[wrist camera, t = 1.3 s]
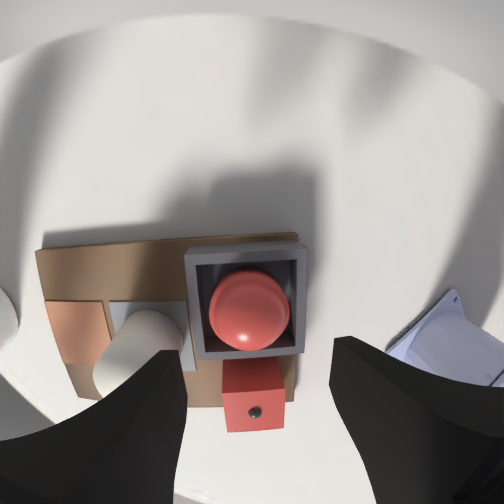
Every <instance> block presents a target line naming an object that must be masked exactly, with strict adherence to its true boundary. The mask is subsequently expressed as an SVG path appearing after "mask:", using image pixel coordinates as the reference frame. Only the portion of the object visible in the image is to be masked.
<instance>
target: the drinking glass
mask: <svg viewBox="0 0 504 504" xmlns="http://www.w3.org/2000/svg"><path fill="white" fill-rule="evenodd" d="M17 334H18V319H17V315H16V311H15V309H14V306H13V304H12V302H11V301H10V299H9V297H8V296H7V295H6V293H5V292H4V291H3V290H2V289H1V288H0V353H1V352H2V351H3V350H4V349H5V348H6V347H8V346H9V345H10V344H11V343H12V342H13V341H14V340H15V339H16V337H17Z"/></svg>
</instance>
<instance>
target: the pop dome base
mask: <svg viewBox="0 0 504 504" xmlns="http://www.w3.org/2000/svg"><path fill="white" fill-rule="evenodd" d="M184 261H185V271H186V281H187V290H188V298H189V306H190V314H191V322H192V329H193V336H194V343H195V349H196V356H197V360H224V359H243V358H257V357H269V356H280V355H290V354H299V353H304V348H305V326H306V294H307V248H306V247H305V246H303V245H302V244H301V243H299V242H298V241H297V240H281V241H261V242H242V243H224V244H206V245H191V246H190V247H189V249H188V250H187V251H186V253H185V254H184ZM241 267H255V268H259V269H262V270H264V271H266V272H268V273H269V274H271V275H272V276H273V277H274V278H275V279H276V280H277V281H278V283H279V285H280V287H281V288H282V290H283V292H284V294H285V296H286V298H287V301H288V304H289V312H290V313H289V320H288V323H287V326H286V328H285V330H284V331H283V333H282V334H281V335H280V336H279V337H278V338H277V339H276V340H275V341H274V342H273V343H272V344H271V345H269V346H267V347H265V348H263V349H260V350H256V351H243V350H239V349H236V348H234V347H232V346H230V345H228V344H227V343H225V342H224V341H222V340H221V339H220V338H219V337H218V336H217V335H216V333H215V332H214V330H213V328H212V326H211V323H210V319H209V309H210V303H211V297H212V292H213V289H214V287H215V285H216V283H217V282H218V281H219V280H220V278H221V277H223V276H224V275H225V274H226V273H228V272H230V271H232V270H234V269H237V268H241Z"/></svg>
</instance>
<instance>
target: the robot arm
mask: <svg viewBox="0 0 504 504" xmlns="http://www.w3.org/2000/svg"><path fill="white" fill-rule="evenodd" d="M329 387H330V390H331V393H332V396H333V399H334V402H335V405H336V408H337V410H338V412H339V414H340V416H341V418H342V420H343V422H344V424H345V426H346V428H347V430H348V432H349V434H350V436H351V438H352V440H353V442H354V444H355V446H356V448H357V450H358V451H359V453H360V456H361V458H362V460H363V463H364V465H365V468H366V471H367V474H368V477H369V480H370V483H371V486H372V489H373V493H374V496H375V500H376V503H377V504H504V343H503V342H501V341H500V340H498V339H497V338H495V337H494V336H492V335H491V334H489V333H487V332H486V331H484V330H483V329H481V328H480V327H478V326H477V325H475V324H474V323H472V322H470V321H469V320H467V319H466V316H465V313H464V309H463V306H462V303H461V300H460V297H459V294H458V291H457V290H456V289H454V288H452V289H450V290H449V291H448V293H447V294H446V295H445V296H444V297H443V298H442V299H441V300H440V301H439V302H438V303H437V304H436V305H435V306H434V307H433V308H432V309H431V310H430V311H429V312H428V313H427V314H426V315H425V316H424V317H423V318H422V319H421V320H420V321H419V322H418V323H417V324H416V325H415V326H414V327H413V328H412V329H411V330H410V331H408V332H407V333H406V334H405V335H404V336H403V337H402V338H401V339H400V340H399V341H397V342H396V343H395V344H394V345H393V346H392V347H390V348H389V349H388V350H387V351H386V352H385V353H384V352H383V351H381V350H379V349H377V348H375V347H373V346H371V345H369V344H367V343H365V342H363V341H361V340H359V339H357V338H355V337H353V336H346V337H339V338H334V346H333V355H332V364H331V372H330V380H329ZM187 402H188V394H187V390H186V385H185V381H184V376H183V371H182V366H181V361H180V356H179V350H160V351H159V352H157V353H156V354H155V355H154V356H153V357H152V358H151V359H150V360H148V361H147V362H146V363H145V364H144V365H143V366H142V367H141V368H140V369H139V370H137V371H136V372H135V373H134V374H133V375H132V376H131V377H129V378H128V379H127V380H126V381H125V382H124V383H122V384H121V385H120V386H118V387H117V388H116V389H115V390H113V391H112V392H111V393H109V394H108V395H107V396H106V397H104V398H103V399H101V400H100V401H98V402H97V403H95V404H94V405H92V406H91V407H89V408H87V409H86V410H84V411H82V412H81V413H79V414H77V415H75V416H73V417H71V418H69V419H67V420H65V421H62V422H60V423H58V424H56V425H54V426H52V427H49V428H47V429H44V430H41V431H39V432H35V433H32V434H29V435H25V436H22V437H18V438H14V439H9V440H4V441H0V504H173V492H174V479H175V472H176V467H177V462H178V457H179V453H180V448H181V443H182V438H183V433H184V429H185V424H186V416H187Z"/></svg>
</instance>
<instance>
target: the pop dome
mask: <svg viewBox="0 0 504 504" xmlns="http://www.w3.org/2000/svg"><path fill="white" fill-rule="evenodd" d="M289 313H290V312H289V304H288V301H287V298H286V296H285V294H284V292H283V290H282V288H281V287H280V285H279V283H278V281H277V280H276V279H275V278H274V277H273V276H272V275H271V274H269V273H268V272H266V271H264V270H262V269H259V268H255V267H241V268H237V269H234V270H232V271H230V272H228V273H226V274H225V275H224V276H223V277H221V278H220V280H219V281H218V282H217V283H216V285H215V287H214V289H213V292H212V297H211V303H210V309H209V319H210V323H211V326H212V328H213V330H214V332H215V333H216V335H217V336H218V337H219V338H220V339H221V340H222V341H224V342H225V343H227V344H228V345H230V346H232V347H234V348H236V349H239V350H243V351H256V350H260V349H263V348H265V347H267V346H269V345H271V344H272V343H273V342H274V341H275V340H276V339H277V338H278V337H279V336H280V335H281V334H282V333H283V331H284V330H285V328H286V326H287V323H288V320H289Z"/></svg>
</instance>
